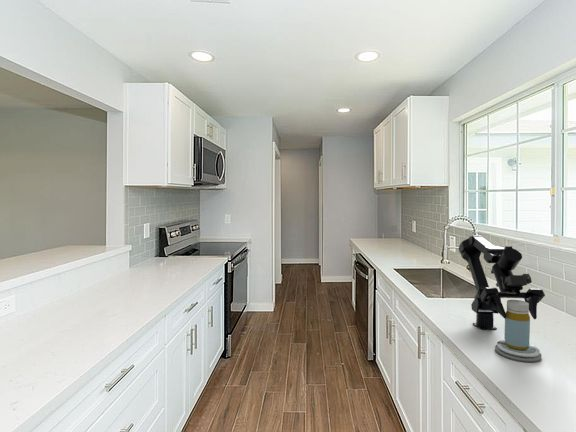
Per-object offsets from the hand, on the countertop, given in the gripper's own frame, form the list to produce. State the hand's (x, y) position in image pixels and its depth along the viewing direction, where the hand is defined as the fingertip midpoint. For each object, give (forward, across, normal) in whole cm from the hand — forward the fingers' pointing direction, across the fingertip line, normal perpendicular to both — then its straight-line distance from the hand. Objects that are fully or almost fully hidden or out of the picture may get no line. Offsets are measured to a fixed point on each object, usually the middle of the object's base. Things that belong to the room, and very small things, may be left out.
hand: (520, 318), depth 118 cm
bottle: (+6, 0, +8) cm, 10 cm away
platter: (+7, 0, +9) cm, 11 cm away
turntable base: (+8, 0, +10) cm, 12 cm away
